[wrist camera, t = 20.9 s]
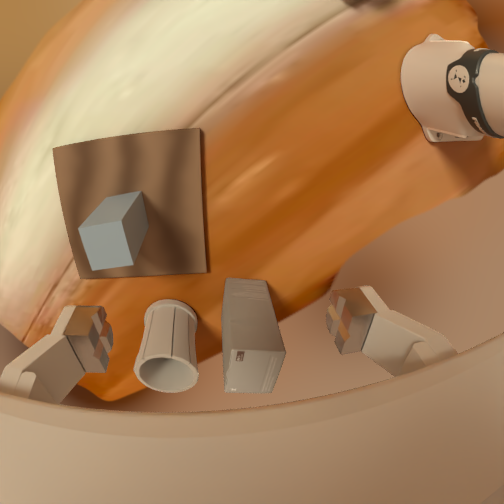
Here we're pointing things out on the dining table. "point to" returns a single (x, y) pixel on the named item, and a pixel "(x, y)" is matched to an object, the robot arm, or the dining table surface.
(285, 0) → the dining table surface
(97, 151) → the walnut base
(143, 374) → the cup
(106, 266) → the tall grey rectangular prism
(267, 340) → the skincare box
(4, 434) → the robot arm
